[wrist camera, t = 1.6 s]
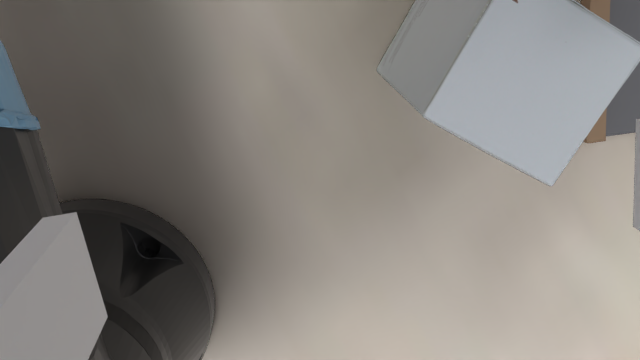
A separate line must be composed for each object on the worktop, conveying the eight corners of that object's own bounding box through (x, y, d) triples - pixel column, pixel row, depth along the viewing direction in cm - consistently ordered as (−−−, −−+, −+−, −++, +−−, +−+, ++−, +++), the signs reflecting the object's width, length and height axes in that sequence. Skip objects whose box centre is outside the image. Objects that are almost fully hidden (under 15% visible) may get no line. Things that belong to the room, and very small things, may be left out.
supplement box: (371, 70, 38) (415, 115, 26) (436, -40, 36) (514, -47, 24) (469, 126, 39) (552, 192, 27) (535, 23, 37) (655, 46, 26)
